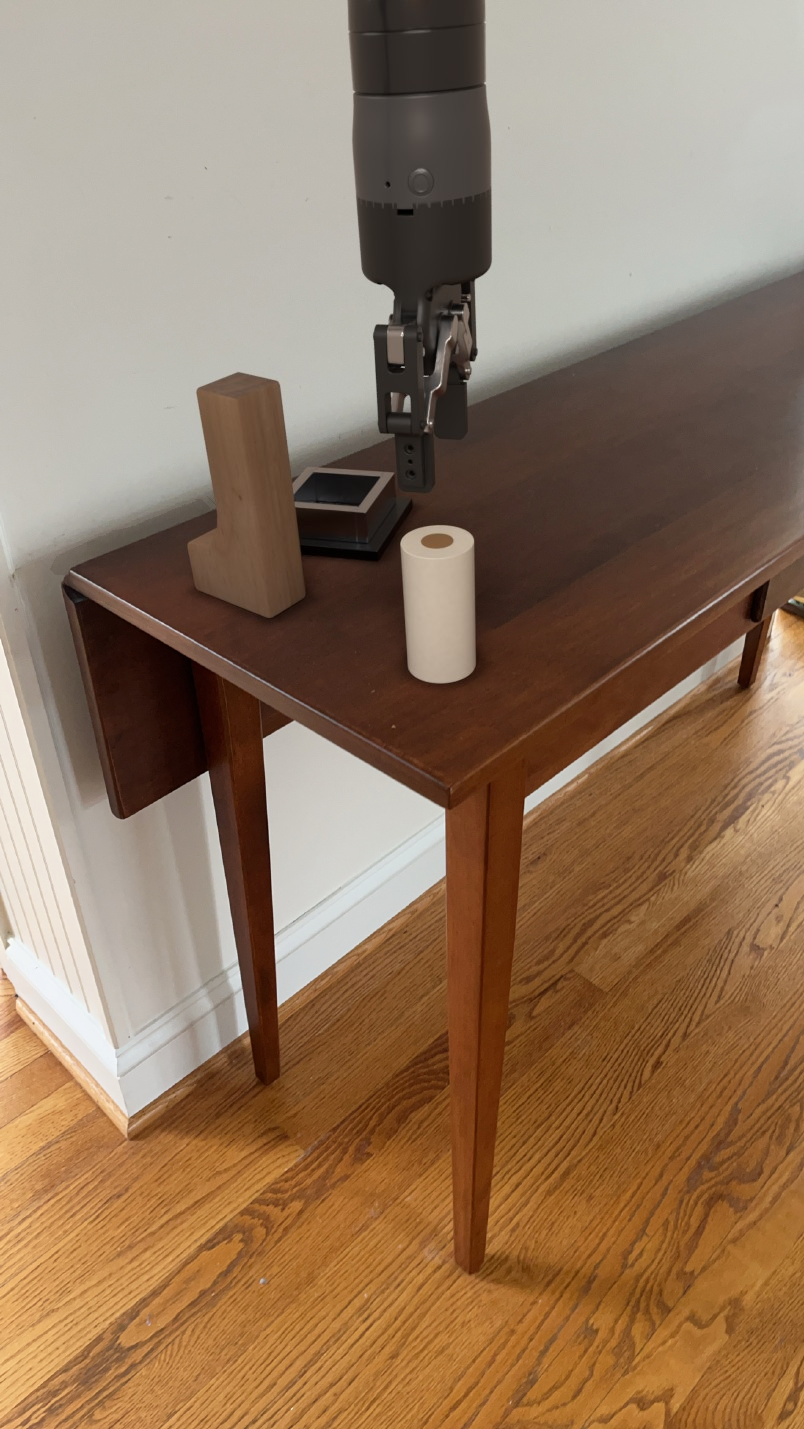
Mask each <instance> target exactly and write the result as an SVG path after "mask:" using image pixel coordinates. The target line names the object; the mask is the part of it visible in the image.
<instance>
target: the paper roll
mask: <svg viewBox="0 0 804 1429" xmlns="http://www.w3.org/2000/svg"><path fill="white" fill-rule="evenodd" d="M400 558H401V559H400V561H401V575H402V577H401V578H402V594H403V608H404V609H403V612H404V622H405V623H404V625H405V626H404V627H405V641H406V657H407V659H406V660H407V669H408V671H409V673H410V674H411V675H412V676H413V677H415V678H416V679H418V680H420V681H423V682H426V683H431V684H450V683H454V682H458V681H462V680H463V679H465V678H467V677H468V676H470V675H471V674H472V673H473V672H474V671H475V668H476V665H477V650H476V649H477V644H476V643H477V642H476V582H475V581H476V578H475V577H476V575H475V574H476V573H475V571H476V570H475V569H476V568H475V538H474V536H473V534H471V533H470V532H469V531H467V530H466V529H464V528H461V527H457V526H453V525H446V524H445V525H444V524H443V525H442V524H440V525H439V524H436V525H435V524H434V525H428V526H422V527H418V528H415V529H412V530H411V531H409V532H407V533H406V534H405V535H404V536H403V537H402V538H401V540H400Z"/></svg>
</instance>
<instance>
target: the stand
mask: <svg viewBox="0 0 804 1429" xmlns="http://www.w3.org/2000/svg"><path fill="white" fill-rule="evenodd" d="M395 475H396V474H395V472H391V471H377V470H362V469H348V468H347V469H345V468H331V467H319V466H318V467H317V466H306V467H305V469H304V470H303V471H302V472H301V473H300V475H298V476H297V478H296V479H295V480H294V481H292V485H293V494H294V502H295V510H296V518H297V526H298V534H299V542H300V550H301V555H305V556H316V557H328V558H340V559H348V560H349V559H350V560H361V561H371V562H372V561H373V562H378V561H379V560H380V559H381V557H382V556H383V554H384V553H385V551H386V550H387V548H388V546H389V545H390V543H391V542H392V540H393V539H394V537H395V535H397V532H398V531H399V530H400V528H401V526H402V525H403V524H404V522H405V521H406V519H407V517H408V515H409V514H410V513H411V511H412V509H413V498H411V497H401V496H400V497H399V496H397V493H396V491H397V490H396V477H395Z"/></svg>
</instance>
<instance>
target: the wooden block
mask: <svg viewBox="0 0 804 1429" xmlns="http://www.w3.org/2000/svg"><path fill="white" fill-rule="evenodd" d="M195 394H196V397H197V398H196V399H197V406H198V410H199V416H200V421H201V430H202V434H203V440H204V445H205V452H206V456H207V463H208V468H209V475H210V481H211V486H212V493H213V497H214V498H213V499H214V504H215V509H216V517H217V518H216V527H215V528H213V529H211V530H210V531H208V532H206V533H204V534H202V535H199V536H198V537H196V538H194V539H192V540H190V541H188V542H187V544H186V545H187V546H186V547H187V552H188V557H189V562H190V567H191V573H192V577H193V583H194V587H195V588H196V590H197V591H199V592H201V593H204V594H207V595H209V596H211V597H214V598H217V599H219V600H222V601H224V602H226V603H229V604H231V605H234V606H237V607H239V608H241V609H244V610H246V611H248V612H251V613H254V614H257V615H259V616H262V617H264V618H266V619H271V618H274V617H275V616H277V615H279V614H280V613H282V612H283V611H284V612H285V610H287V609H288V608H290V607H292V606H293V605H295V604H296V603H298V602H300V601H302V600H303V599H304V598H305V597H306V594H307V592H306V583H305V576H304V575H305V574H304V567H303V560H302V558H303V557H302V554H301V550H300V542H299V534H298V526H297V518H296V510H295V502H294V494H293V485H292V484H293V478H292V471H291V462H290V454H289V446H288V438H287V437H288V436H287V429H286V422H285V414H284V405H283V398H282V390H281V384H280V382H279V381H278V380H277V379H271V378H267V377H262V376H259V375H254V374H249V373H246V372H241V371H236V372H235V373H232V374H229V375H227V376H225V377H224V376H223V377H222V378H219V379H217V380H214V381H212V382H209V383H206V384H203V385H201V386H199V387H198V388H197V389H196V391H195Z"/></svg>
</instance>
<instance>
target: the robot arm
mask: <svg viewBox="0 0 804 1429" xmlns="http://www.w3.org/2000/svg"><path fill="white" fill-rule="evenodd" d="M346 2H347V30H348V43H349V44H348V45H349V59H350V70H351V84H352V91H353V93H352V102H353V103H352V106H353V108H352V130H351V131H352V132H351V144H352V146H351V147H352V161H353V162H352V163H353V173H354V174H353V176H354V187H355V200H356V214H357V228H358V239H359V253H360V266H361V272H362V275H363V276H364V277H365V278H366V279H367V280H368V281H370V282H371V283H373V284H375V285H379V286H383V285H384V286H385V287H387V288H388V289H389V290H390V291H392V293H393V296H394V299H393V301H392V303H393V306H392V313H390V314H389V316H388V321H387V324H385V323H384V324H383V323H382V324H381V323H376V324H375V326H374V329H373V332H372V340H373V353H374V370H375V371H374V372H375V388H376V390H375V391H376V408H377V427H378V428H377V429H378V432H379V433H380V434H381V435H382V434H383V435H385V434H386V435H389V434H391V435H394V446H395V447H394V448H395V449H394V450H395V463H396V477H397V478H396V479H397V486H398V487H397V488H398V489H400V490H401V491H403V492H406V493H418V494H428V493H430V492H431V491H432V490H433V488H434V487H435V485H436V466H435V465H436V464H435V463H436V462H435V441H434V440H435V438H434V436H435V437H436V438H437V439H440V440H441V439H442V440H455V441H461V440H463V439H465V437H466V435H467V434H468V431H469V421H468V420H469V416H468V415H469V414H468V381H469V380H470V378H471V375H472V372H473V371H472V369H473V368H472V366H471V363H474V362H476V359H477V356H478V354H479V350H478V347H477V346H478V344H477V314H476V311H477V309H476V307H477V306H476V280H477V279H479V278H481V277H483V276H484V275H485V274H486V273H488V271H489V270H490V269H491V266H492V263H493V225H492V224H493V223H492V222H493V211H492V210H493V209H492V206H493V205H492V203H493V202H492V200H493V199H492V191H493V190H492V186H493V185H492V130H491V119H490V113H489V105H488V97H487V93H488V92H487V84H485V83H486V82H487V47H486V46H487V36H486V35H487V30H486V26H487V25H486V21H487V18H486V15H487V14H486V13H487V12H486V0H346ZM407 397H409V399H410V412H409V411H404V407H405V400H406V398H407Z"/></svg>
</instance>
